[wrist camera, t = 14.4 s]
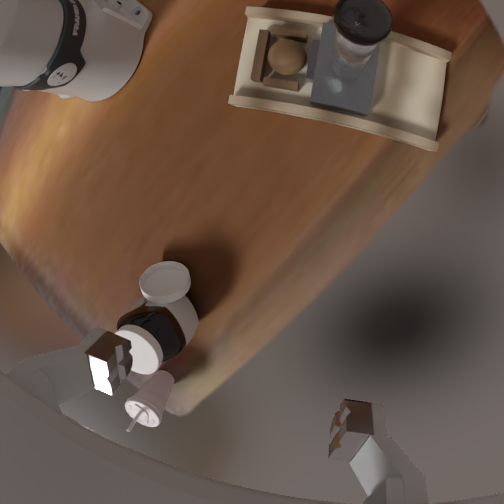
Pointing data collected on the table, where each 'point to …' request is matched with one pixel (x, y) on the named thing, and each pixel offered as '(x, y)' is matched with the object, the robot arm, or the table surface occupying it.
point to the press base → (385, 88)
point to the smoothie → (150, 400)
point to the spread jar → (159, 317)
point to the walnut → (287, 57)
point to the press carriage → (348, 56)
